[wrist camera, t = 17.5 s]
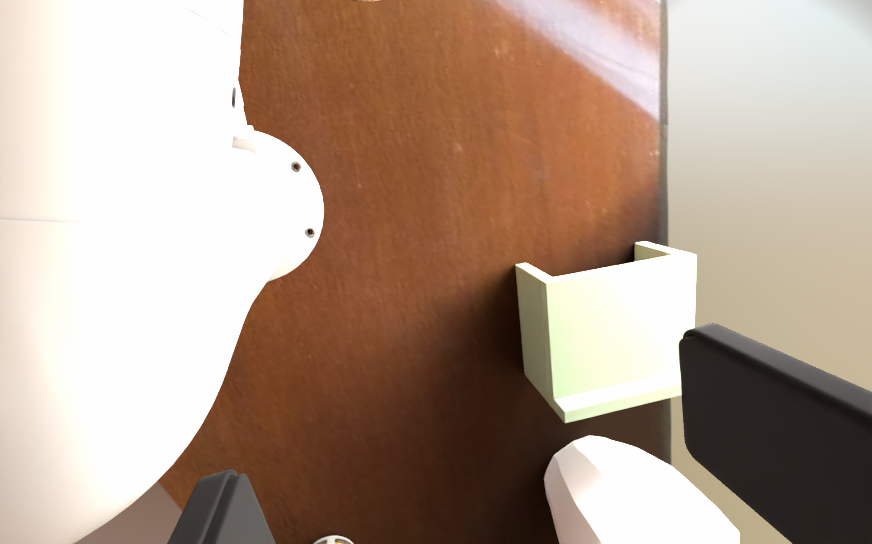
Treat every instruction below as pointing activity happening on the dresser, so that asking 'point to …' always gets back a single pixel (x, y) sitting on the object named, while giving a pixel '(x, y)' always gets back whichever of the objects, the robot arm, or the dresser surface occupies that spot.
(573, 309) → the shelf
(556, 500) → the vase
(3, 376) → the robot arm
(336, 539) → the supplement bottle
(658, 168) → the dresser surface
